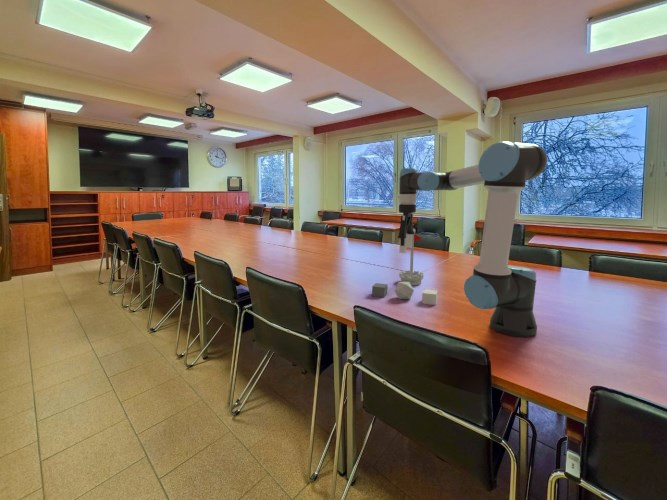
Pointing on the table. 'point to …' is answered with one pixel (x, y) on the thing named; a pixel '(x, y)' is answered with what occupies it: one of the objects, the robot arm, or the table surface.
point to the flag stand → (409, 275)
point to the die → (404, 290)
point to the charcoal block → (379, 290)
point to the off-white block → (429, 297)
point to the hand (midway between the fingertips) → (405, 250)
